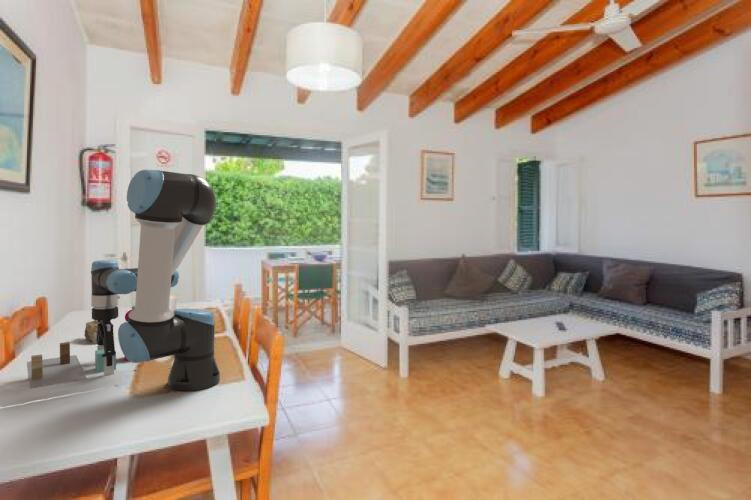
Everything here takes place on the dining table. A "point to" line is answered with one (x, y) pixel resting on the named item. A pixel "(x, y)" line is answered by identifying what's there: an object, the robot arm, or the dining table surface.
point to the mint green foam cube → (102, 360)
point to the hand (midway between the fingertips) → (105, 369)
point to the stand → (57, 372)
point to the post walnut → (64, 353)
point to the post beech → (36, 367)
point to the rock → (91, 331)
